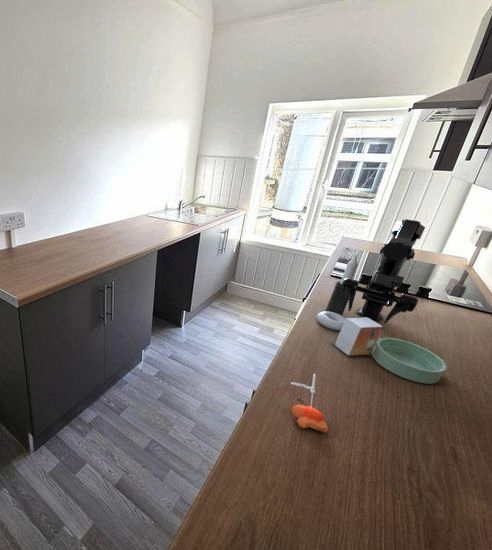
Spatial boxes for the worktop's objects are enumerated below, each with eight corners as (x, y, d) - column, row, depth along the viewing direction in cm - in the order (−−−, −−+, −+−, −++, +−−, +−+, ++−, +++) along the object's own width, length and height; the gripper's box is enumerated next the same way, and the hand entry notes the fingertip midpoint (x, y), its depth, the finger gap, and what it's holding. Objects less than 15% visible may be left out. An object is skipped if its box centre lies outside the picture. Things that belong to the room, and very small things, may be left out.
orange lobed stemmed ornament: (288, 400, 73) (302, 362, 69) (331, 427, 67) (349, 387, 62) (277, 412, 70) (291, 373, 65) (320, 442, 63) (339, 400, 58)
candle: (340, 320, 111) (366, 257, 101) (325, 315, 113) (348, 254, 103) (340, 314, 115) (364, 254, 105) (325, 310, 117) (347, 251, 107)
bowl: (379, 343, 98) (385, 332, 96) (443, 370, 87) (450, 358, 85) (364, 360, 89) (370, 348, 88) (433, 393, 78) (441, 380, 77)
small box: (348, 356, 91) (360, 327, 87) (334, 345, 96) (345, 317, 92) (370, 355, 92) (384, 326, 88) (355, 344, 97) (367, 316, 93)
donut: (315, 315, 114) (316, 326, 106) (317, 307, 112) (319, 318, 104) (345, 322, 110) (349, 335, 101) (349, 314, 108) (353, 327, 100)
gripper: (353, 255, 96) (333, 295, 93) (432, 273, 84) (412, 320, 81) (350, 271, 104) (332, 308, 101) (421, 289, 92) (402, 332, 89)
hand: (366, 316), depth 93 cm, fingers open, 9 cm apart
